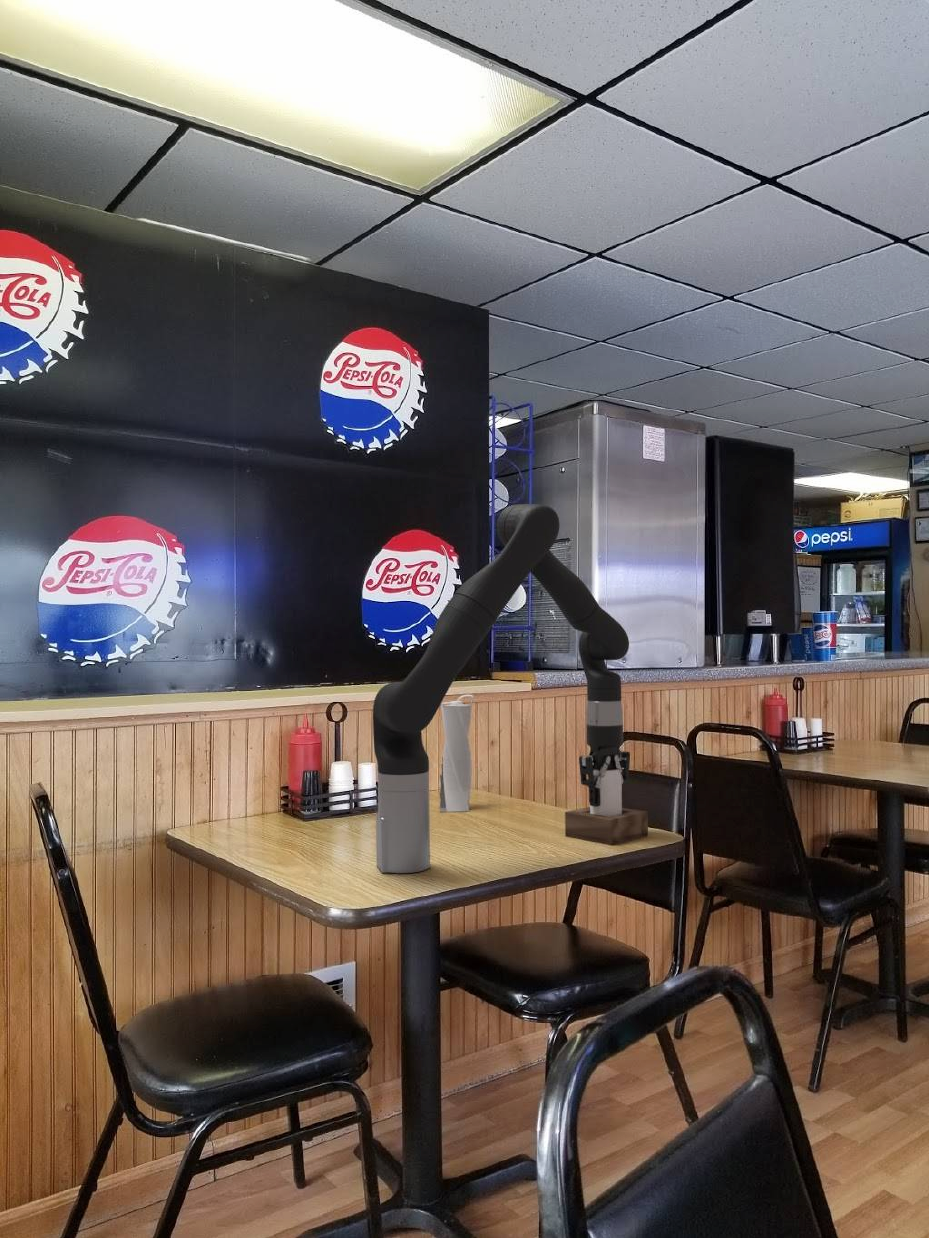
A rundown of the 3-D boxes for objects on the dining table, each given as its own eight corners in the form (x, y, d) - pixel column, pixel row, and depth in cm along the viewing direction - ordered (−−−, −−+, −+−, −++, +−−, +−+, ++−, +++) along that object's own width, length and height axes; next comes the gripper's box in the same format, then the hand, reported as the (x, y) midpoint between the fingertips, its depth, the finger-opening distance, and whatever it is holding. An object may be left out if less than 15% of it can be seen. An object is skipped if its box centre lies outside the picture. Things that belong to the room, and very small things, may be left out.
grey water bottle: (473, 807, 228) (472, 693, 229) (475, 813, 220) (474, 695, 221) (439, 808, 228) (438, 694, 229) (440, 814, 220) (438, 695, 220)
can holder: (611, 845, 183) (610, 819, 183) (565, 836, 192) (565, 811, 192) (648, 835, 191) (647, 811, 192) (602, 827, 200) (602, 804, 200)
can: (621, 830, 188) (620, 770, 188) (589, 829, 189) (588, 770, 190) (622, 823, 194) (621, 766, 195) (591, 823, 196) (590, 765, 196)
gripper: (596, 726, 185) (597, 810, 184) (640, 721, 194) (641, 802, 194) (567, 723, 190) (568, 806, 190) (612, 719, 200) (613, 797, 200)
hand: (605, 803), depth 192 cm, fingers closed on can, 6 cm apart
